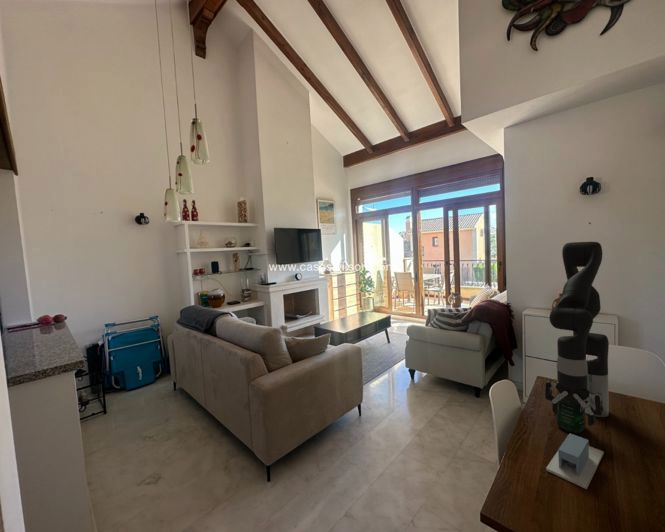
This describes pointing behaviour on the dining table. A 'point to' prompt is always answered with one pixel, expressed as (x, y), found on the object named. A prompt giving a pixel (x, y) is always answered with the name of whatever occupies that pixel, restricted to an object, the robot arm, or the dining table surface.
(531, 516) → the dining table surface
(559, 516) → the dining table surface
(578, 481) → the board
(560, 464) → the block
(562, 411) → the coffee jar
